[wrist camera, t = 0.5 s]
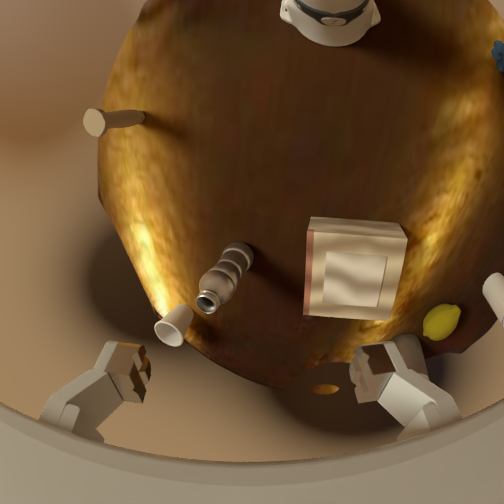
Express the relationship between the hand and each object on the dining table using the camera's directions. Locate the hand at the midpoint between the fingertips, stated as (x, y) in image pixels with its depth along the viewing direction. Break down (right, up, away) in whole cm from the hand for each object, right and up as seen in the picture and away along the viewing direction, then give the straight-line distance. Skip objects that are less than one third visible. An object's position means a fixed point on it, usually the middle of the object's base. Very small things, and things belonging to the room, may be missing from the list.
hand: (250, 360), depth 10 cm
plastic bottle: (-2, +4, +53) cm, 53 cm away
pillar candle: (+39, -21, +53) cm, 69 cm away
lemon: (+45, -10, +46) cm, 65 cm away
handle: (-25, +34, +45) cm, 62 cm away
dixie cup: (-19, -13, +66) cm, 70 cm away
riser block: (+21, +2, +47) cm, 51 cm away
